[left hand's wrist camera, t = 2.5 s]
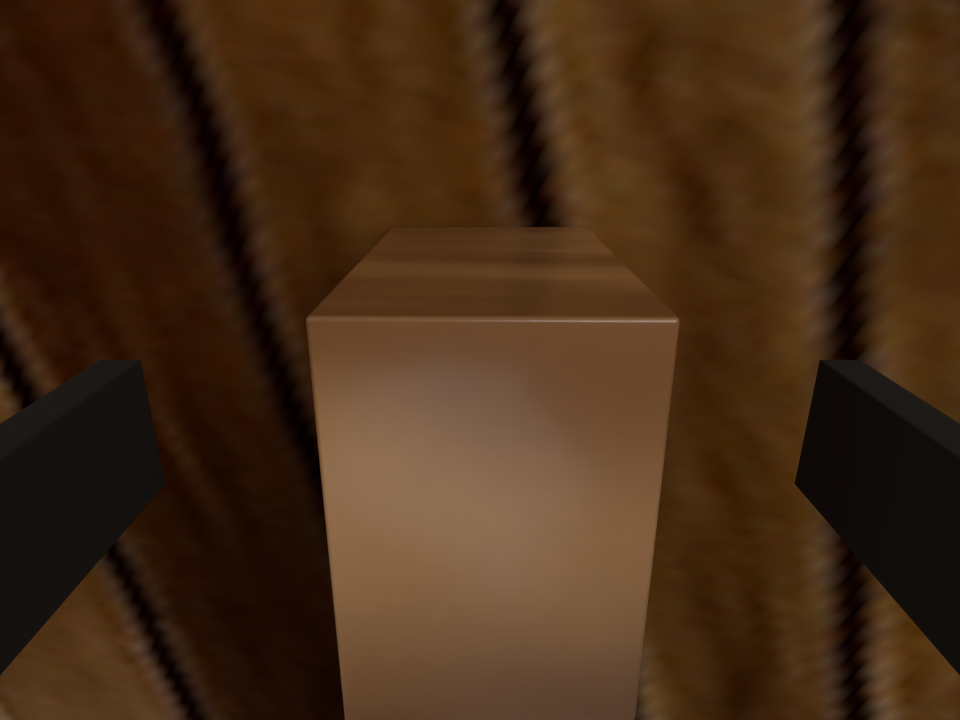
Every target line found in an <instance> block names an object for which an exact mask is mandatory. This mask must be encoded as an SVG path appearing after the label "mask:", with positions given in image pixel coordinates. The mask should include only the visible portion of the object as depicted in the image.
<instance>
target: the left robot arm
mask: <svg viewBox="0 0 960 720" xmlns="http://www.w3.org/2000/svg"><path fill="white" fill-rule="evenodd" d="M164 485H165V480H164V475H163V470H162V466H161V461H160V456H159V451H158V446H157V441H156V436H155V431H154V426H153V421H152V417H151V412H150V407H149V402H148V397H147V392H146V387H145V382H144V377H143V372H142V368H141V363H140V360H100V361H98V362H97V363H95V364H93V365H92V366H90V367H89V368H87V369H86V370H84V371H82V372H81V373H79V374H78V375H76V376H75V377H73V378H72V379H70V380H68V381H67V382H65V383H64V384H62V385H61V386H59V387H57V388H56V389H54V390H53V391H51V392H50V393H48V394H46V395H45V396H43V397H42V398H40V399H39V400H37V401H35V402H34V403H32V404H31V405H29V406H28V407H26V408H24V409H23V410H21V411H20V412H18V413H17V414H15V415H13V416H12V417H10V418H9V419H7V420H6V421H4V422H2V423H1V424H0V675H1V674H2V673H3V671H4V670H5V669H6V668H7V667H8V666H9V664H10V663H11V662H12V661H13V660H14V659H15V657H16V656H17V655H18V654H19V653H20V652H21V651H22V649H23V648H24V647H25V646H26V645H27V644H28V642H29V641H30V640H31V639H32V638H33V637H34V635H35V634H36V633H37V632H38V631H39V630H40V628H41V627H42V626H43V625H44V624H45V623H46V622H47V620H48V619H49V618H50V617H51V616H52V615H53V613H54V612H55V611H56V610H57V609H58V608H59V606H60V605H61V604H62V603H63V602H64V601H65V599H66V598H67V597H68V596H69V595H70V594H71V592H72V591H73V590H74V589H75V588H76V587H77V586H78V584H79V583H80V582H81V581H82V580H83V579H84V577H85V576H86V575H87V574H88V573H89V572H90V570H91V569H92V568H93V567H94V566H95V565H96V563H97V562H98V561H99V560H100V559H101V558H102V557H103V555H104V554H105V553H106V552H107V551H108V550H109V548H110V547H111V546H112V545H113V544H114V543H115V541H116V540H117V539H118V538H119V537H120V536H121V534H122V533H123V532H124V531H125V530H126V529H127V528H128V526H129V525H130V524H131V523H132V522H133V521H134V519H135V518H136V517H137V516H138V515H139V514H140V512H141V511H142V510H143V509H144V508H145V507H146V505H147V504H148V503H149V502H150V501H151V500H152V498H153V497H154V496H155V495H156V494H157V493H158V492H159V490H160V489H161V488H162V487H163V486H164ZM795 485H796V486H797V487H798V488H799V489H800V490H801V492H802V493H803V494H804V495H805V496H806V497H807V498H808V500H809V501H810V502H811V503H812V504H813V505H814V507H815V508H816V509H817V510H818V511H819V512H820V514H821V515H822V516H823V517H824V518H825V519H826V521H827V522H828V523H829V524H830V525H831V526H832V528H833V529H834V530H835V531H836V532H837V533H838V534H839V536H840V537H841V538H842V539H843V540H844V541H845V543H846V544H847V545H848V546H849V547H850V548H851V550H852V551H853V552H854V553H855V554H856V555H857V557H858V558H859V559H860V560H861V561H862V562H863V563H864V565H865V566H866V567H867V568H868V569H869V570H870V572H871V573H872V574H873V575H874V576H875V577H876V579H877V580H878V581H879V582H880V583H881V584H882V586H883V587H884V588H885V589H886V590H887V591H888V592H889V594H890V595H891V596H892V597H893V598H894V599H895V601H896V602H897V603H898V604H899V605H900V606H901V608H902V609H903V610H904V611H905V612H906V613H907V615H908V616H909V617H910V618H911V619H912V620H913V622H914V623H915V624H916V625H917V626H918V627H919V628H920V630H921V631H922V632H923V633H924V634H925V635H926V637H927V638H928V639H929V640H930V641H931V642H932V644H933V645H934V646H935V647H936V648H937V649H938V651H939V652H940V653H941V654H942V655H943V656H944V657H945V659H946V660H947V661H948V662H949V663H950V664H951V666H952V667H953V668H954V669H955V670H956V671H957V673H958V674H959V675H960V424H959V423H958V422H956V421H954V420H953V419H951V418H950V417H948V416H947V415H945V414H943V413H942V412H940V411H939V410H937V409H936V408H934V407H932V406H931V405H929V404H928V403H926V402H925V401H923V400H921V399H920V398H918V397H917V396H915V395H914V394H912V393H910V392H909V391H907V390H906V389H904V388H903V387H901V386H899V385H898V384H896V383H895V382H893V381H892V380H890V379H888V378H887V377H885V376H884V375H882V374H881V373H879V372H877V371H876V370H874V369H873V368H871V367H870V366H868V365H867V364H865V363H863V362H862V361H860V360H820V363H819V367H818V372H817V377H816V382H815V387H814V392H813V397H812V402H811V407H810V412H809V416H808V421H807V426H806V431H805V436H804V441H803V446H802V451H801V456H800V461H799V466H798V470H797V475H796V480H795Z"/></svg>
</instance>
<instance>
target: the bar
mask: <svg viewBox="0 0 960 720" xmlns="http://www.w3.org/2000/svg"><path fill="white" fill-rule="evenodd" d="M679 324H680V321H679V318H678V317H677V316H676V315H675V314H674V313H673V312H672V311H671V310H670V309H669V308H668V307H667V306H666V305H665V304H664V303H663V302H662V301H661V300H660V299H659V298H658V297H657V296H656V295H655V294H654V293H653V292H652V291H651V290H650V289H649V288H648V287H647V286H646V285H645V284H644V283H643V282H642V281H641V280H640V279H639V278H638V277H637V276H636V275H635V274H634V273H633V272H632V271H631V270H630V269H629V268H628V267H627V266H626V265H625V264H624V263H622V262H621V261H620V260H619V259H618V258H617V257H616V256H615V255H614V254H613V253H612V252H611V251H610V250H609V249H608V248H607V247H606V246H605V245H604V244H603V243H602V242H601V241H600V240H599V239H598V238H597V237H596V236H595V235H594V234H593V233H592V232H591V231H590V230H589V229H588V228H586V227H393V228H391V229H390V230H389V231H388V232H387V233H386V234H385V235H384V236H383V237H382V239H381V240H380V241H379V242H378V243H377V244H376V245H375V246H374V247H373V248H372V249H371V250H370V251H369V252H368V253H367V254H366V255H365V256H364V257H363V258H362V259H361V261H360V262H359V263H358V264H357V265H356V266H355V267H354V268H353V269H352V270H351V271H350V272H349V273H348V274H347V275H346V276H345V277H344V278H343V279H342V280H341V282H340V283H339V284H338V285H337V286H336V287H335V288H334V289H333V290H332V291H331V292H330V293H329V294H328V295H327V296H326V297H325V298H324V299H323V300H322V301H321V302H320V304H319V305H318V306H317V307H316V308H315V309H314V310H313V311H312V312H311V313H310V314H309V315H308V316H307V318H306V329H307V339H308V349H309V360H310V370H311V380H312V390H313V400H314V411H315V421H316V431H317V441H318V451H319V462H320V472H321V482H322V492H323V502H324V513H325V523H326V533H327V543H328V553H329V564H330V574H331V584H332V594H333V604H334V615H335V625H336V635H337V645H338V655H339V666H340V676H341V686H342V696H343V707H344V717H345V720H635V715H636V706H637V697H638V688H639V679H640V670H641V661H642V653H643V644H644V635H645V626H646V617H647V608H648V599H649V590H650V581H651V573H652V564H653V555H654V546H655V537H656V528H657V519H658V510H659V501H660V493H661V484H662V475H663V466H664V457H665V448H666V439H667V430H668V421H669V413H670V404H671V395H672V386H673V377H674V368H675V359H676V350H677V341H678V333H679Z"/></svg>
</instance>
